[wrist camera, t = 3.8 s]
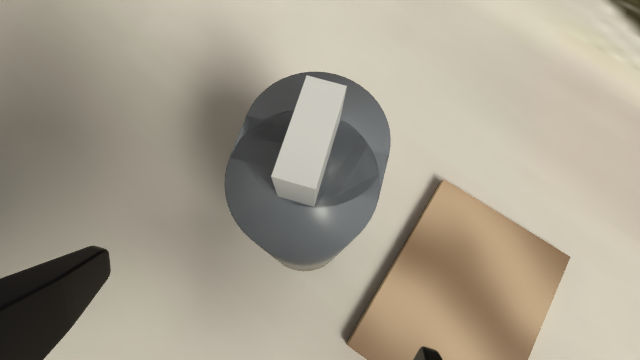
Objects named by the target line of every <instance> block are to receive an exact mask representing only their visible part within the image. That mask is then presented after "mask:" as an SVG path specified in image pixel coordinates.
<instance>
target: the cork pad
mask: <svg viewBox="0 0 640 360" xmlns="http://www.w3.org/2000/svg"><path fill="white" fill-rule="evenodd" d="M569 259H570V256H568V255H566V254H565V253H563V252H561V251H560V250H558V249H557V248H555V247H553V246H552V245H550V244H548V243H547V242H545V241H544V240H542V239H540V238H539V237H537V236H535V235H534V234H532V233H531V232H529V231H527V230H526V229H524V228H522V227H521V226H519V225H518V224H516V223H514V222H513V221H511V220H509V219H508V218H506V217H505V216H503V215H501V214H500V213H498V212H496V211H495V210H493V209H492V208H490V207H488V206H487V205H485V204H483V203H482V202H480V201H479V200H477V199H475V198H474V197H472V196H470V195H469V194H467V193H466V192H464V191H462V190H461V189H459V188H457V187H456V186H454V185H452V184H451V183H449V182H448V181H446V180H442V181H441V182H440V184H439V185H438V187H437V189H436V191H435V192H434V194H433V196H432V197H431V199H430V201H429V203H428V204H427V206H426V208H425V209H424V211H423V213H422V215H421V216H420V218H419V220H418V221H417V223H416V225H415V227H414V228H413V230H412V232H411V233H410V235H409V237H408V239H407V240H406V242H405V244H404V245H403V247H402V249H401V251H400V252H399V254H398V256H397V257H396V259H395V261H394V263H393V264H392V266H391V268H390V269H389V271H388V273H387V275H386V276H385V278H384V280H383V281H382V283H381V285H380V287H379V288H378V290H377V292H376V293H375V295H374V297H373V299H372V300H371V302H370V304H369V305H368V307H367V309H366V311H365V312H364V314H363V316H362V317H361V319H360V321H359V323H358V324H357V326H356V328H355V329H354V331H353V333H352V335H351V336H350V338H349V340H348V341H347V343H346V344H347V345H348V346H349V347H351V348H352V349H353V350H355V351H356V352H357V353H359V354H360V355H362V356H363V357H364V358H366V359H367V360H413V359H414V357H415V355H416V354H417V352H418V350H419V349H420V347H422V346H425V347H428V348H432V349H435V350H437V351H438V352H439V354H440V356H441V357H442V359H443V360H528V358H529V355H530V353H531V351H532V348H533V346H534V343H535V341H536V339H537V336H538V334H539V331H540V329H541V326H542V324H543V322H544V319H545V317H546V314H547V312H548V310H549V307H550V305H551V302H552V300H553V298H554V295H555V293H556V290H557V288H558V285H559V283H560V281H561V278H562V276H563V273H564V271H565V269H566V266H567V264H568V261H569Z"/></svg>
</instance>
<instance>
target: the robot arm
mask: <svg viewBox="0 0 640 360" xmlns="http://www.w3.org/2000/svg"><path fill="white" fill-rule="evenodd" d="M110 271H111V269H110V259H109V252H108V251H107V250H106V249H104V248H101V247H97V246H89V247H86V248H84V249H81V250H78V251H75V252H73V253H70V254H67V255H64V256H62V257H59V258H56V259H53V260H50V261H48V262H45V263H42V264H39V265H37V266H34V267H31V268H28V269H26V270H23V271H20V272H17V273H15V274H12V275H9V276H6V277H3V278H1V279H0V360H43V359H44V358H45V357H46V356H47V355H48V354H49V353H50V351H51V350H52V349H53V348H54V347H55V346H56V345H57V344H58V342H59V341H60V340H61V339H62V338H63V337H64V336H65V334H66V333H67V332H68V331H69V330H70V329H71V327H72V326H73V325H74V324H75V322H76V321H77V320H78V318H79V317H80V316H81V314H82V313H83V312H84V310H85V309H86V308H87V306H88V305H89V303H90V302H91V301H92V299H93V298H94V297H95V295H96V294H97V293H98V291H99V290H100V289H101V287H102V286H103V284H104V283H105V282H106V280H107V279H108V277H109V275H110ZM413 360H443V359H442V357H441V356H440V354H439V352H438V351H437V350H435V349H432V348H428V347H425V346H422V347H420V349H419V350H418V352H417V354H416V355H415V357H414V359H413Z"/></svg>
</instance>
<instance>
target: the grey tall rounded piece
mask: <svg viewBox="0 0 640 360" xmlns="http://www.w3.org/2000/svg"><path fill="white" fill-rule="evenodd" d="M389 151H390V130H389V125H388V122H387V119H386V116H385V114H384V112H383V110H382V108H381V107H380V105H379V104H378V102H377V101H376V100H375V98H374V97H373V96H372V95H371V94H370V93H369V92H368V91H367V90H365V89H364V88H363V87H361V86H360V85H358V84H357V83H355V82H354V81H352V80H349V79H347V78H345V77H342V76H339V75H336V74H331V73H325V72H306V73H299V74H295V75H291V76H289V77H286V78H283V79H281V80H279V81H277V82H275V83H274V84H272V85H271V86H270V87H268V88H267V89H266V90H265V91H263V92H262V93H261V94H260V95H259V97H258V98H257V99H256V100H255V101H254V103H253V104H252V106H251V107H250V109H249V112H248V114H247V116H246V118H245V121H244V123H243V126H242V128H241V131H240V133H239V136H238V138H237V141H236V143H235V146H234V148H233V151H232V153H231V156H230V158H229V161H228V165H227V168H226V174H225V194H226V199H227V203H228V207H229V209H230V212H231V214H232V216H233V218H234V219H235V221H236V223H237V224H238V226H239V227H240V228H241V230H242V231H243V232H244V233H245V234H246V235H247V236H248V237H249V238H250V239H251V240H252V241H254V242H255V243H256V244H258V245H259V246H260V247H261V248H263V249H264V250H265V251H266V252H268V253H269V254H270V255H271V256H273V257H274V258H275V259H276V260H278V261H279V262H280V263H282V264H283V265H284V266H286V267H288V268H291V269H293V270H298V271H311V270H316V269H319V268H321V267H323V266H325V265H326V264H328V263H329V262H330V261H331V260H332V259H333V258H335V257H336V256H337V255H338V254H339V253H340V252H341V251H342V250H343V249H344V248H345V247H346V246H347V245H348V244H349V243H350V242H351V241H352V240H353V239H355V238H356V237H357V236H358V235H359V234H360V232H361V231H362V230H363V229H364V228H365V227H366V225H367V224H368V222H369V221H370V219H371V217H372V215H373V213H374V211H375V209H376V205H377V202H378V199H379V194H380V190H381V186H382V182H383V178H384V173H385V169H386V165H387V161H388V157H389Z"/></svg>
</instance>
